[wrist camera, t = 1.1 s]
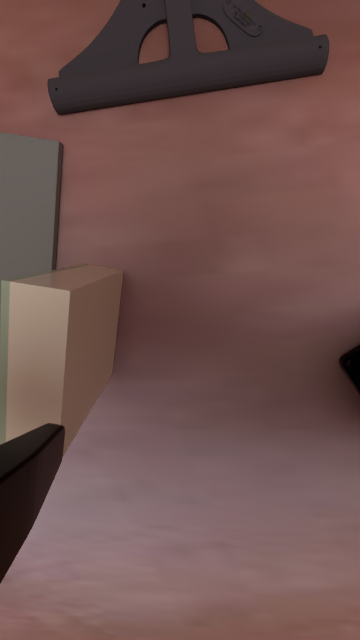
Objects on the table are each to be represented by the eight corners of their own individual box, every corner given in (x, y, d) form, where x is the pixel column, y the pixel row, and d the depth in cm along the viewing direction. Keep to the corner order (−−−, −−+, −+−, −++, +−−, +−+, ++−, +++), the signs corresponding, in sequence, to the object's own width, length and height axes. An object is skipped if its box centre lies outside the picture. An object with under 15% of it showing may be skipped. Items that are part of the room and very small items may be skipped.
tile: (123, 270, 20) (70, 291, 11) (112, 374, 21) (57, 464, 13) (85, 264, 20) (1, 280, 11) (76, 368, 21) (-3, 455, 13)
